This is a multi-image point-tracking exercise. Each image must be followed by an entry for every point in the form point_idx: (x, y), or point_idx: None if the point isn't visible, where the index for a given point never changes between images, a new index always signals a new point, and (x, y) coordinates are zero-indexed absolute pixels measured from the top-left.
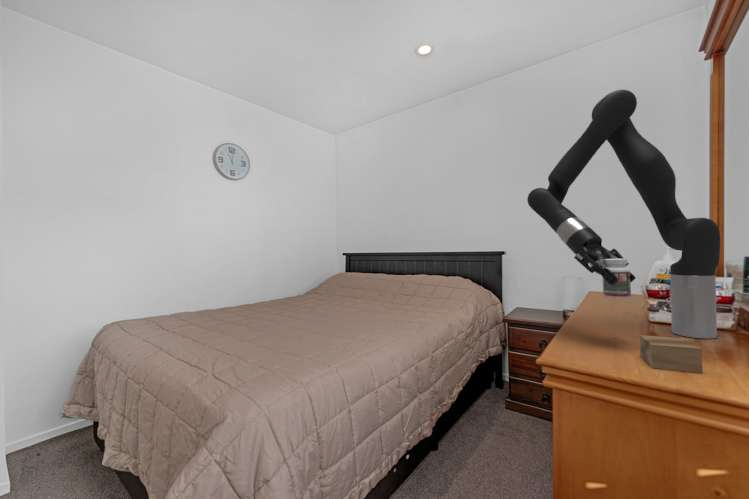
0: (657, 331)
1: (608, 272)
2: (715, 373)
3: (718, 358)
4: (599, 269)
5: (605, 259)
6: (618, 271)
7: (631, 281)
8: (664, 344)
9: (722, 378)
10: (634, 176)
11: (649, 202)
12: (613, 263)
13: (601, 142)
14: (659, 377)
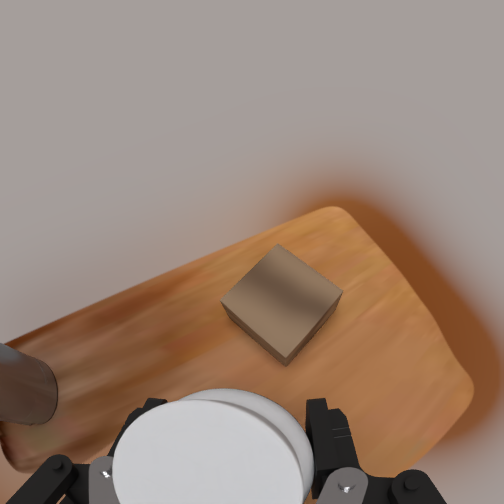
0: (56, 443)
1: (333, 448)
2: (258, 261)
3: (160, 302)
4: (376, 482)
5: None
6: (287, 411)
7: None
8: (316, 282)
9: (274, 246)
10: None
11: None
12: (293, 450)
13: None
14: (365, 276)
